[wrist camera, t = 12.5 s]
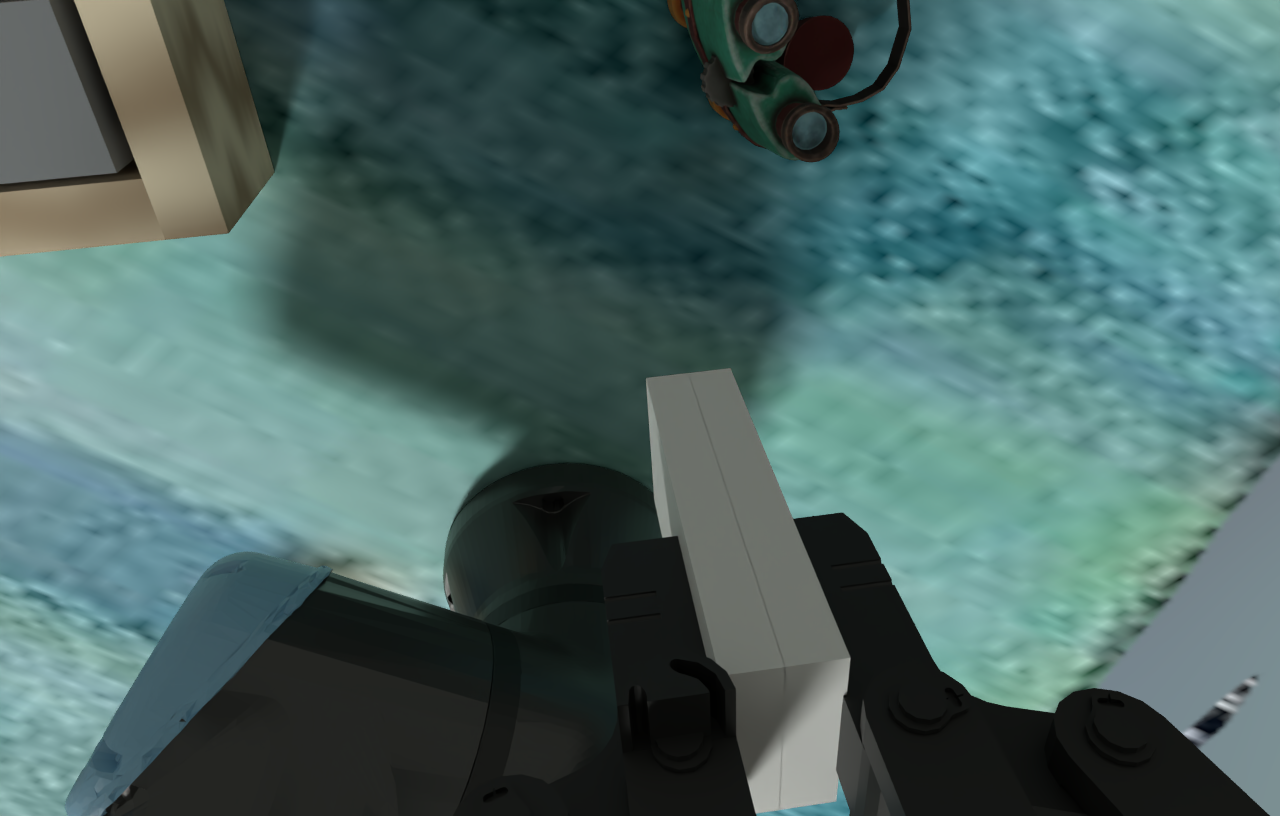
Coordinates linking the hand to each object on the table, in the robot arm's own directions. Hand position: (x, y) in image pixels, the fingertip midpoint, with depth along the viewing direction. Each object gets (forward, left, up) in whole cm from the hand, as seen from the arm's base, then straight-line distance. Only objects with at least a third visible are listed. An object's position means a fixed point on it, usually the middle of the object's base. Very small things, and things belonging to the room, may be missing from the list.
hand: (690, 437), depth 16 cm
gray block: (-13, +17, -30) cm, 37 cm away
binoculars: (+8, -5, -31) cm, 32 cm away
